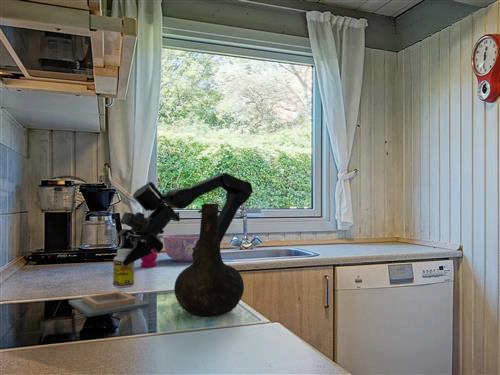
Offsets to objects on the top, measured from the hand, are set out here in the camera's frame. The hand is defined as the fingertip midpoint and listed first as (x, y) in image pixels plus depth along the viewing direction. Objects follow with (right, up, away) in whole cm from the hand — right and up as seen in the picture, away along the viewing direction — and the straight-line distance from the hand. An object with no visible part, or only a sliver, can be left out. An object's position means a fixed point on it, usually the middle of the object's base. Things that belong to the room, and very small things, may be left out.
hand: (119, 262), depth 110 cm
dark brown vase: (+26, -11, -8) cm, 29 cm away
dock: (-2, -11, -2) cm, 11 cm away
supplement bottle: (+1, -7, +1) cm, 7 cm away
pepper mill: (-7, -13, +61) cm, 63 cm away
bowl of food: (+4, -14, +79) cm, 81 cm away
